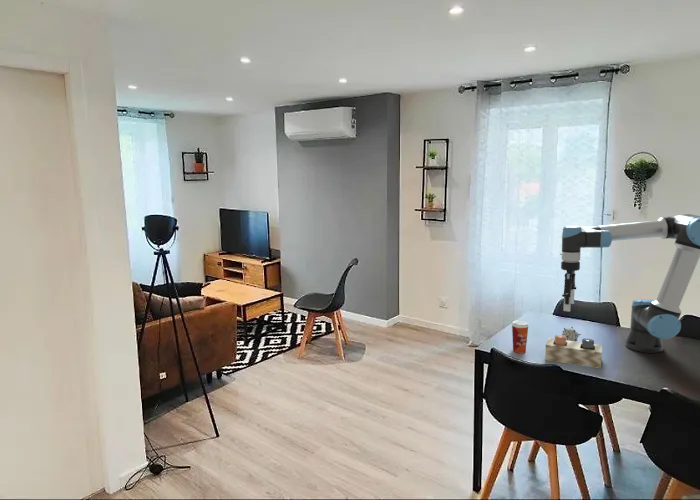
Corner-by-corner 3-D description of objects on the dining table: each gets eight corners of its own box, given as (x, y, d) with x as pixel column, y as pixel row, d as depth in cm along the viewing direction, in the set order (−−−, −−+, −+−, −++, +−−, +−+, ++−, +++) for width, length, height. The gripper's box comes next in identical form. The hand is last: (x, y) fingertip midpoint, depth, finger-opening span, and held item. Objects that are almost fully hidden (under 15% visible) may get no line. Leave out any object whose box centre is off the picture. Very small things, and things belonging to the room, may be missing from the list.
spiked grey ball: (573, 351, 227) (584, 340, 220) (556, 345, 228) (566, 333, 221) (573, 338, 233) (583, 326, 226) (556, 331, 234) (566, 319, 227)
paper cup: (519, 355, 215) (520, 326, 213) (507, 350, 222) (507, 321, 219) (531, 352, 218) (532, 323, 216) (519, 346, 225) (519, 318, 223)
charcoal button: (593, 351, 205) (594, 339, 205) (593, 355, 201) (593, 342, 201) (581, 349, 208) (582, 337, 207) (581, 353, 204) (581, 341, 203)
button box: (601, 360, 207) (602, 345, 206) (600, 368, 198) (601, 352, 197) (547, 352, 218) (548, 337, 216) (545, 359, 209) (545, 344, 208)
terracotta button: (566, 347, 211) (566, 335, 210) (565, 350, 207) (565, 339, 206) (555, 345, 213) (555, 334, 212) (553, 349, 209) (554, 337, 208)
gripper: (565, 255, 220) (563, 299, 223) (557, 265, 199) (555, 313, 202) (582, 256, 216) (580, 301, 219) (576, 266, 195) (574, 315, 198)
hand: (568, 307), depth 211 cm, fingers open, 13 cm apart
